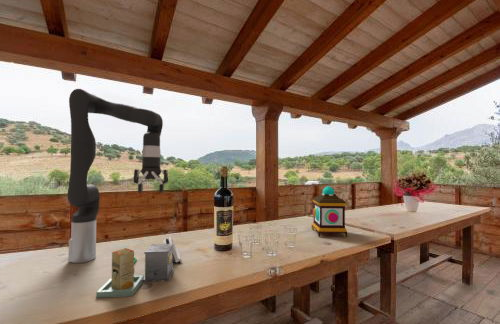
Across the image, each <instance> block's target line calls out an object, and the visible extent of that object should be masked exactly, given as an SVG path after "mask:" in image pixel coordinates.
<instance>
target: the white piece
mask: <svg viewBox="0 0 500 324" xmlns="http://www.w3.org/2000/svg"><path fill="white" fill-rule="evenodd" d="M162 241H163V242H162V244H173V247H172V265H174V263H178V262H179V263H180V264H183V260H182V255H181V252H180V248H179V247H177V246H176V245H175V244H176V243H174V239H173V237H172V236H169V237H168V238H165V239H164V240H162Z"/></svg>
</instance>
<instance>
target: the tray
mask: <svg viewBox="0 0 500 324" xmlns="http://www.w3.org/2000/svg"><path fill="white" fill-rule="evenodd" d="M144 278H145V274H144V275H134V285H133V286H131V287H129V288H127V289H123V290H115V289H113V288H111V284H112V277H110V278H109V279H108V280H107V281H106V282H105V283H103V285H102V286H101V287H100V288H99V289H98V290H97V291H96V295H95V296H96V298H97V299H98V298H99V299H101V298H119V297H120V298H123V297H133V296H134V295H135V293H136V292H137V291H138V289H139V288H140V286H141V285H142V284H143V279H144Z"/></svg>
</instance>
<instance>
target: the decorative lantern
mask: <svg viewBox="0 0 500 324" xmlns="http://www.w3.org/2000/svg"><path fill="white" fill-rule="evenodd" d="M311 201H312V202H313V209H312V216H313V222H312V224H311V229H312V230H311V231H314V230H315V231H316V232H317V235H318V238H321V235H322V233H323V234H324V233H325V234H327V233H329V234H343V236H344V238H347V237H348V231H347V228H346V221H345V220H346V206H347V204H348V203H347V202H346V201H345V200H344V199H343V198H340V197H339V196H338V195H337V194H336V193H335V190H334V188H333V187H332V186H329V185H328V186H326V187H324V188H323V190H322V193H321V194H319V195H317V196H314V197H313V198H312V199H311Z"/></svg>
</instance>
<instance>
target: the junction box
mask: <svg viewBox="0 0 500 324" xmlns="http://www.w3.org/2000/svg"><path fill="white" fill-rule="evenodd" d="M172 247H173V244H164V243H160V244H158V243H157V244H150V246H149V247H147V248H146V250H145V251H144V252H143V254H145V256H144V279H143V282H144V283H145V282H167V281H168V282H170V281H169V280H170V279H171V277H172V276H173V275H172V274H173V272H174V271H175V268H173V264H172V257H173V256H172ZM143 282H142V283H143Z"/></svg>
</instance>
